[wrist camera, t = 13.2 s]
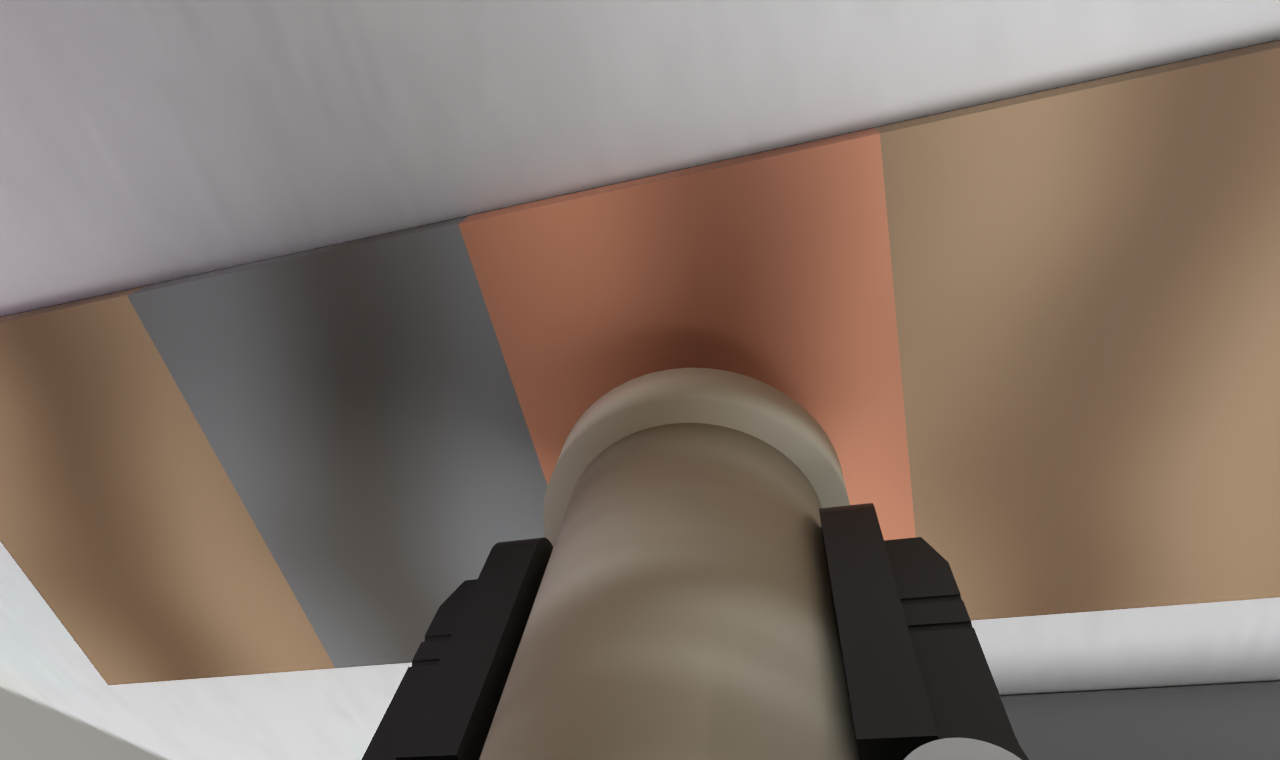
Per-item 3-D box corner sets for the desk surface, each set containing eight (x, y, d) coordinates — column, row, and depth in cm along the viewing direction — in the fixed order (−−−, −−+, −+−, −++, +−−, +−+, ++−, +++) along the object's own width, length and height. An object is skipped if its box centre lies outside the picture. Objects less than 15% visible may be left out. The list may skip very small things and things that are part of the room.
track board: (1396, 14, 10) (1433, 14, 9) (1292, 572, 14) (1313, 594, 14) (-111, 341, 16) (-142, 352, 15) (125, 667, 20) (108, 684, 20)
